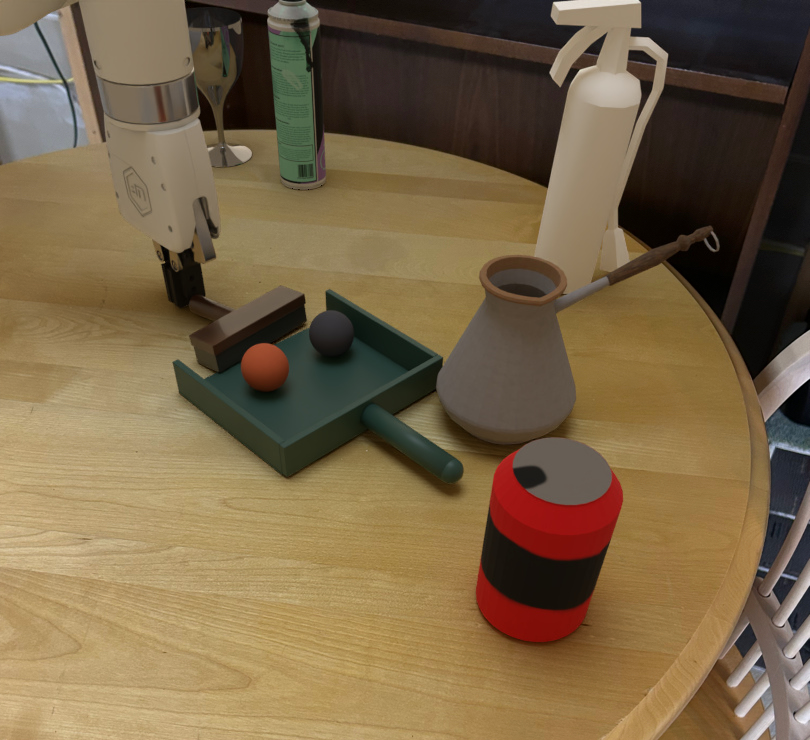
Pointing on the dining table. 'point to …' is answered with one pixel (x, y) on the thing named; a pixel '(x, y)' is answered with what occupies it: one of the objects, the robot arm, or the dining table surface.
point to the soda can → (546, 538)
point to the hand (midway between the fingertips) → (187, 299)
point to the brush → (244, 325)
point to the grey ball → (331, 333)
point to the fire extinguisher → (595, 139)
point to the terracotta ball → (265, 367)
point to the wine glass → (218, 70)
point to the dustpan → (328, 397)
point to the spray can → (298, 93)
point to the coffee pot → (525, 346)
